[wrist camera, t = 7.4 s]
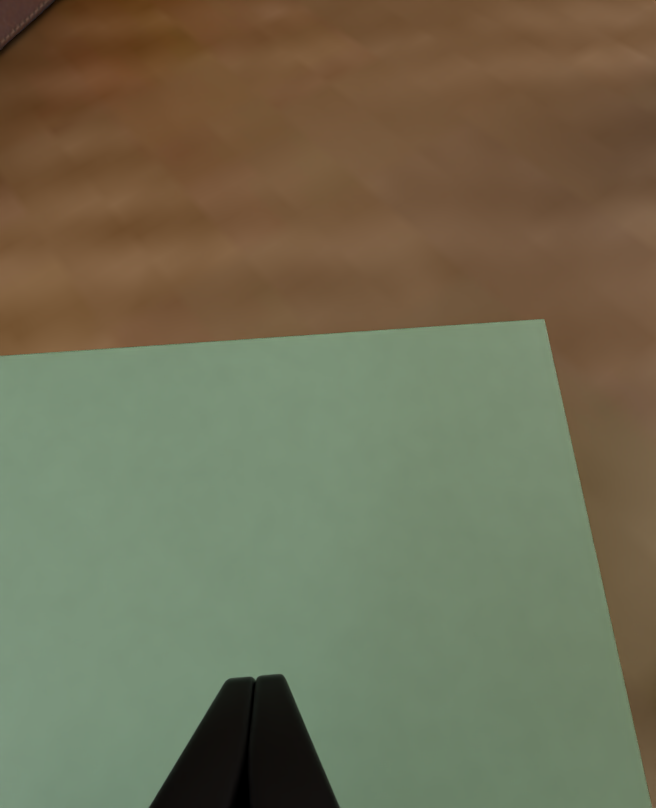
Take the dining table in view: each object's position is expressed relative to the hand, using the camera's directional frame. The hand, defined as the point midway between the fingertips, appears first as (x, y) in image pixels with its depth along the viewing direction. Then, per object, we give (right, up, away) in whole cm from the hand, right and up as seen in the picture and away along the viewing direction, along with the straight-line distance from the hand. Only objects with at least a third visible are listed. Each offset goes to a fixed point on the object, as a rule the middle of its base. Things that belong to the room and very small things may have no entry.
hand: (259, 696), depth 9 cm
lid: (0, -1, +4) cm, 4 cm away
